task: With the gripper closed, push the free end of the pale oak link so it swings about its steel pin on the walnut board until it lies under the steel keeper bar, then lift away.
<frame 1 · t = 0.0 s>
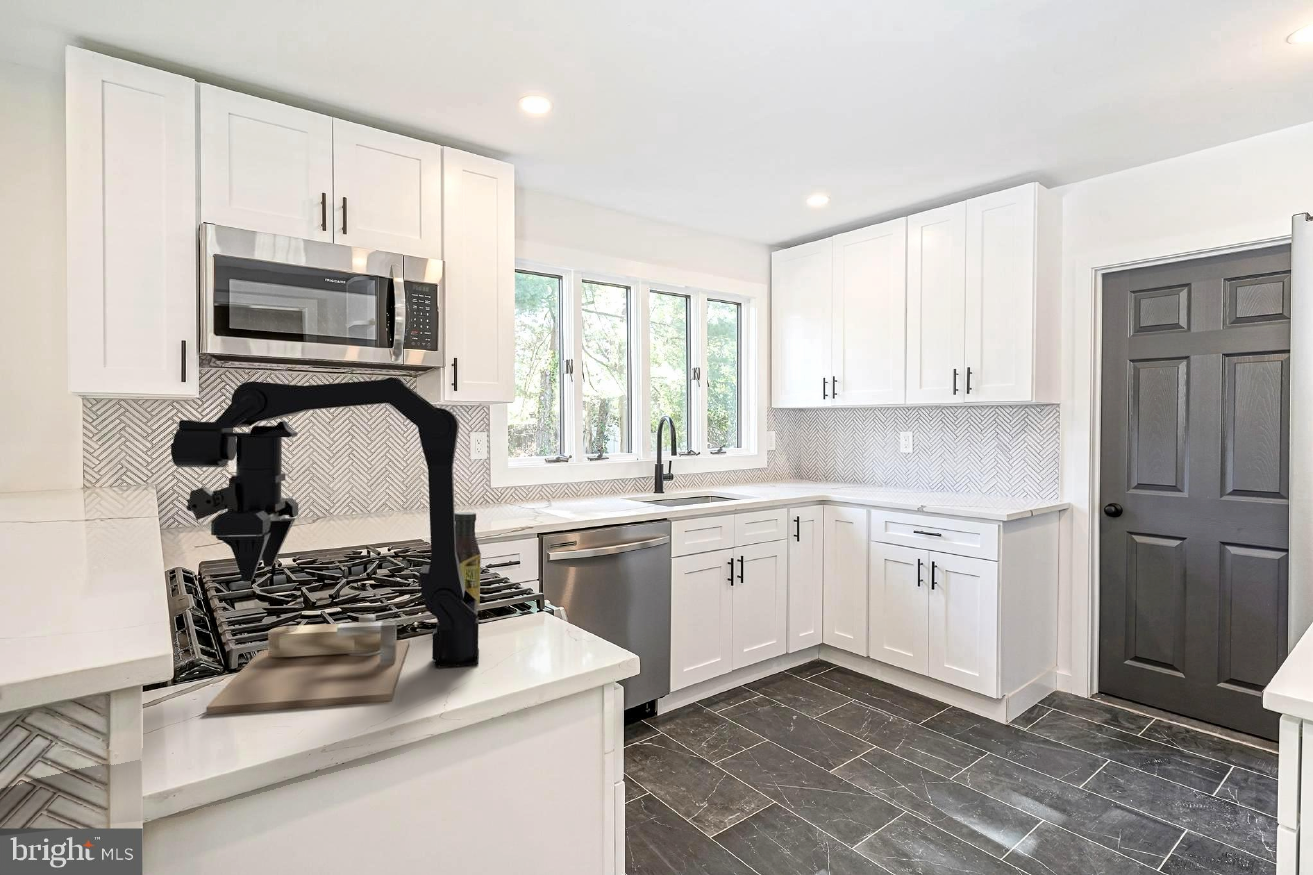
hand: (258, 573, 98), 15 cm above the countertop, tool pointing down, fingers open, 9 cm apart
oak link: (327, 639, 105), point 3 cm above the countertop, hinge at 0.0°
sauce bottle: (462, 616, 129), on the countertop
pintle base: (321, 675, 98), on the countertop
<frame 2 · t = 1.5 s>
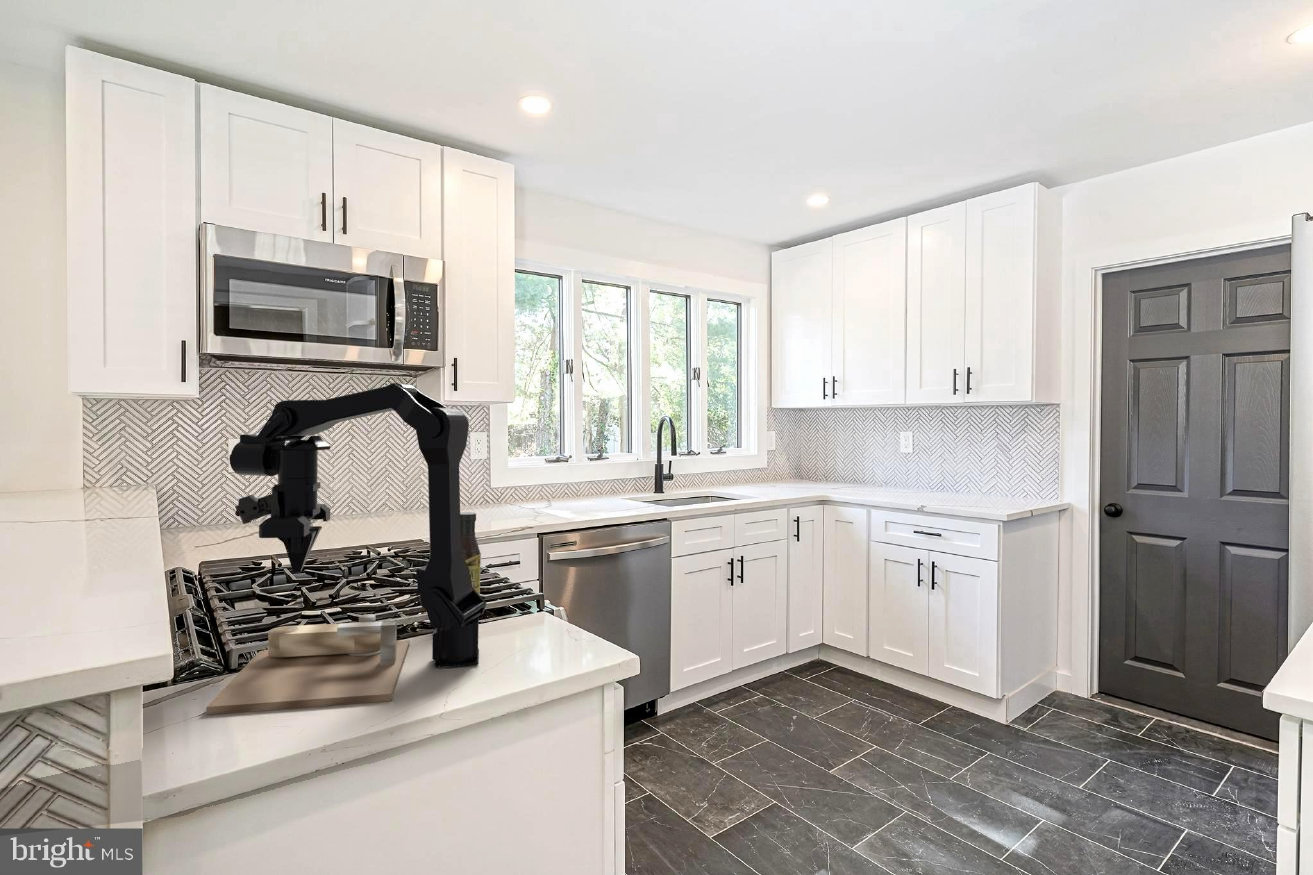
hand: (297, 572, 110), 12 cm above the countertop, tool pointing down, fingers closed
nothing on the countertop moved.
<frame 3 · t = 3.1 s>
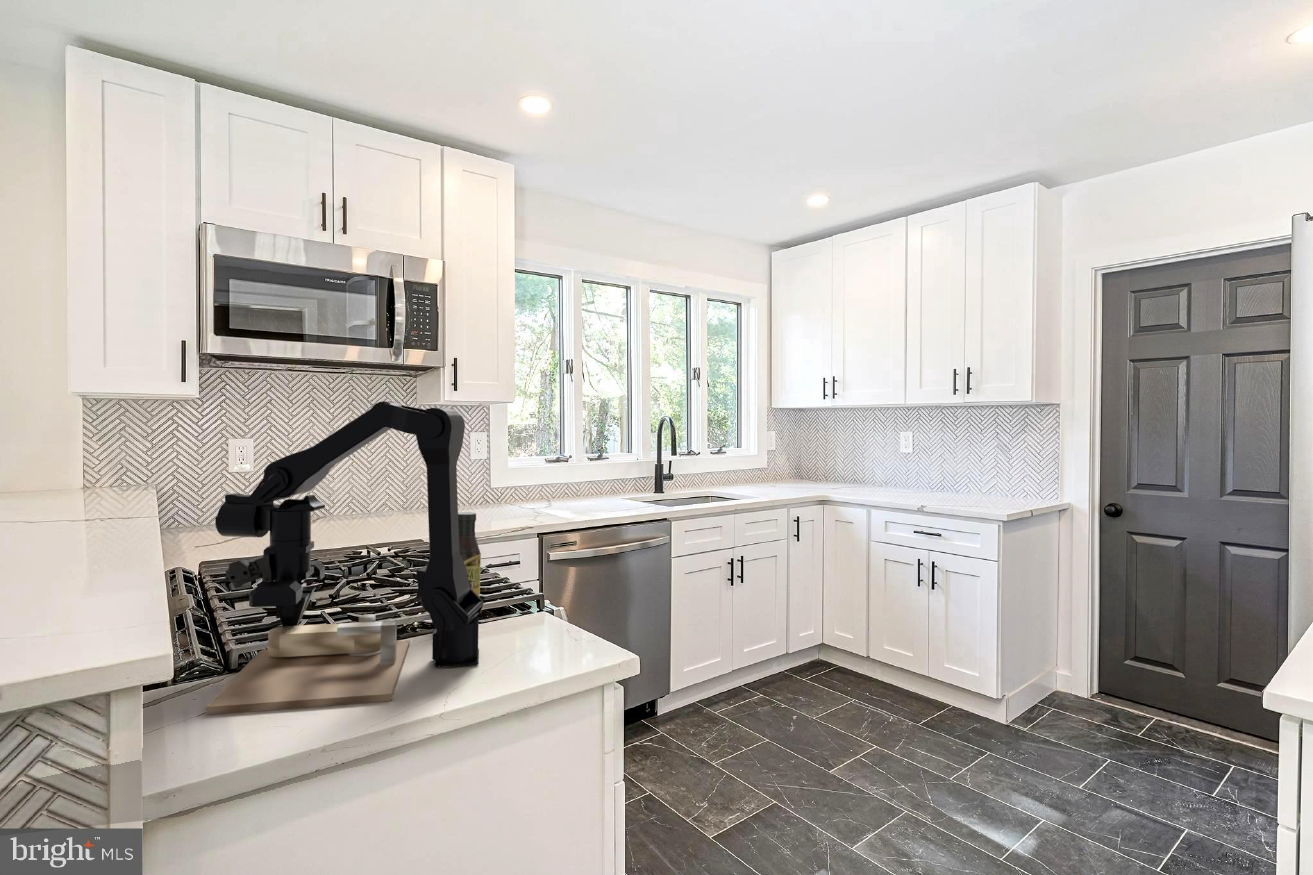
hand: (289, 635, 106), 3 cm above the countertop, tool pointing down, fingers closed
oak link: (327, 639, 105), point 3 cm above the countertop, hinge at 0.0°, touching gripper
everything else where it was.
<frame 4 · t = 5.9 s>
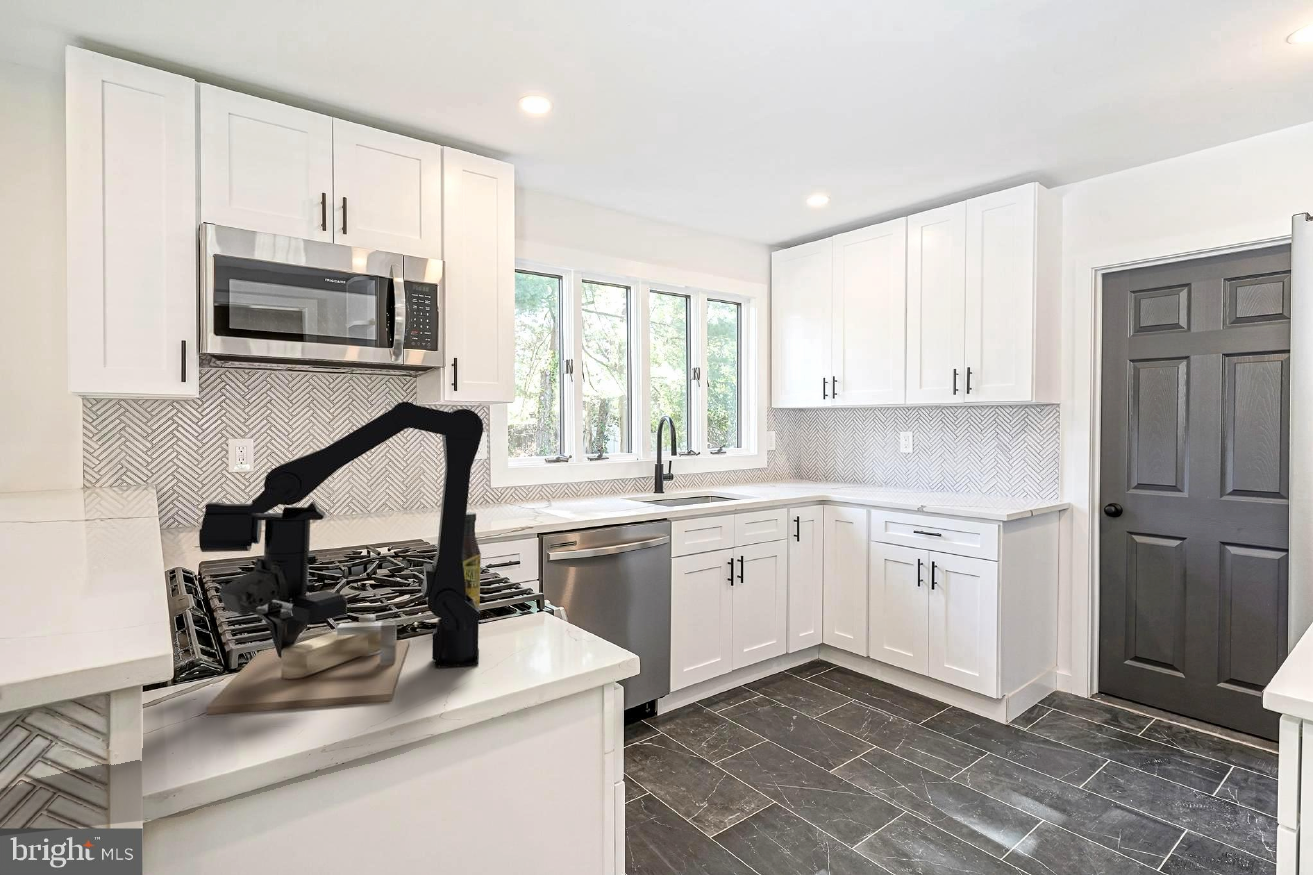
hand: (283, 657, 97), 3 cm above the countertop, tool pointing down, fingers closed
oak link: (335, 647, 101), point 3 cm above the countertop, hinge at 49.9°, touching gripper
everything else where it was.
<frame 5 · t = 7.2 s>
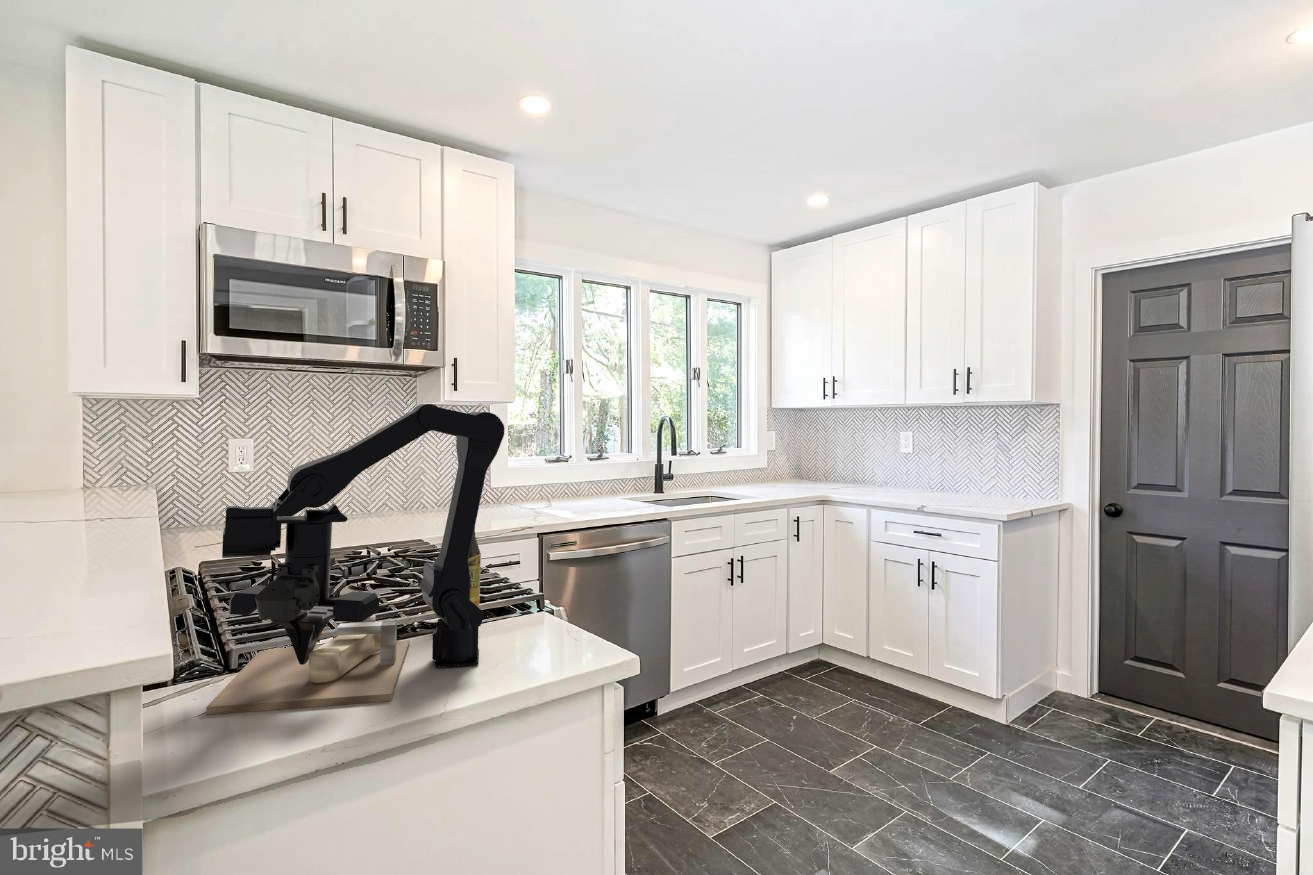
hand: (303, 663, 94), 3 cm above the countertop, tool pointing down, fingers closed
oak link: (348, 649, 100), point 3 cm above the countertop, hinge at 72.2°, touching gripper
everything else where it was.
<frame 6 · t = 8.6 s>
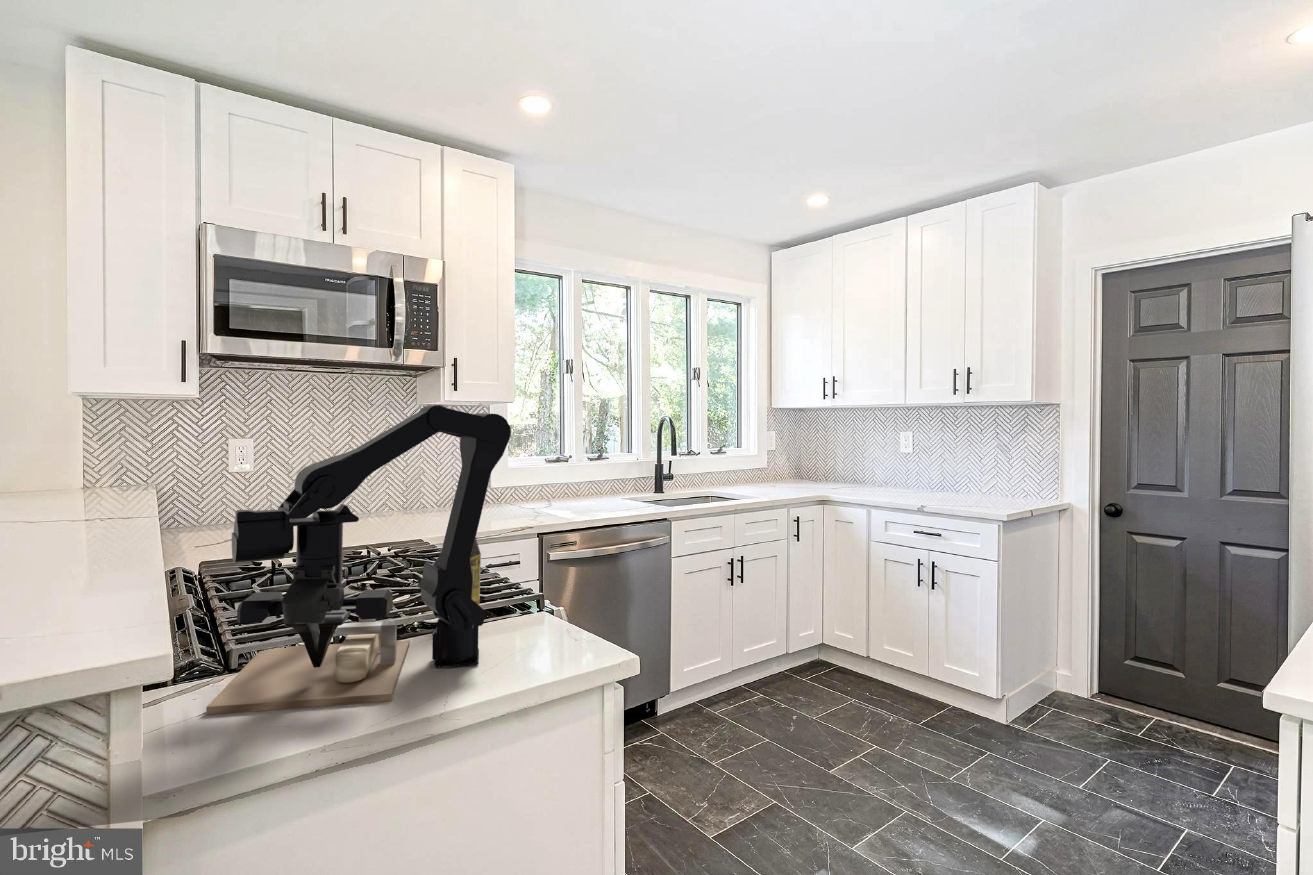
hand: (317, 666, 93), 3 cm above the countertop, tool pointing down, fingers closed
oak link: (359, 649, 101), point 3 cm above the countertop, hinge at 89.4°
everything else where it was.
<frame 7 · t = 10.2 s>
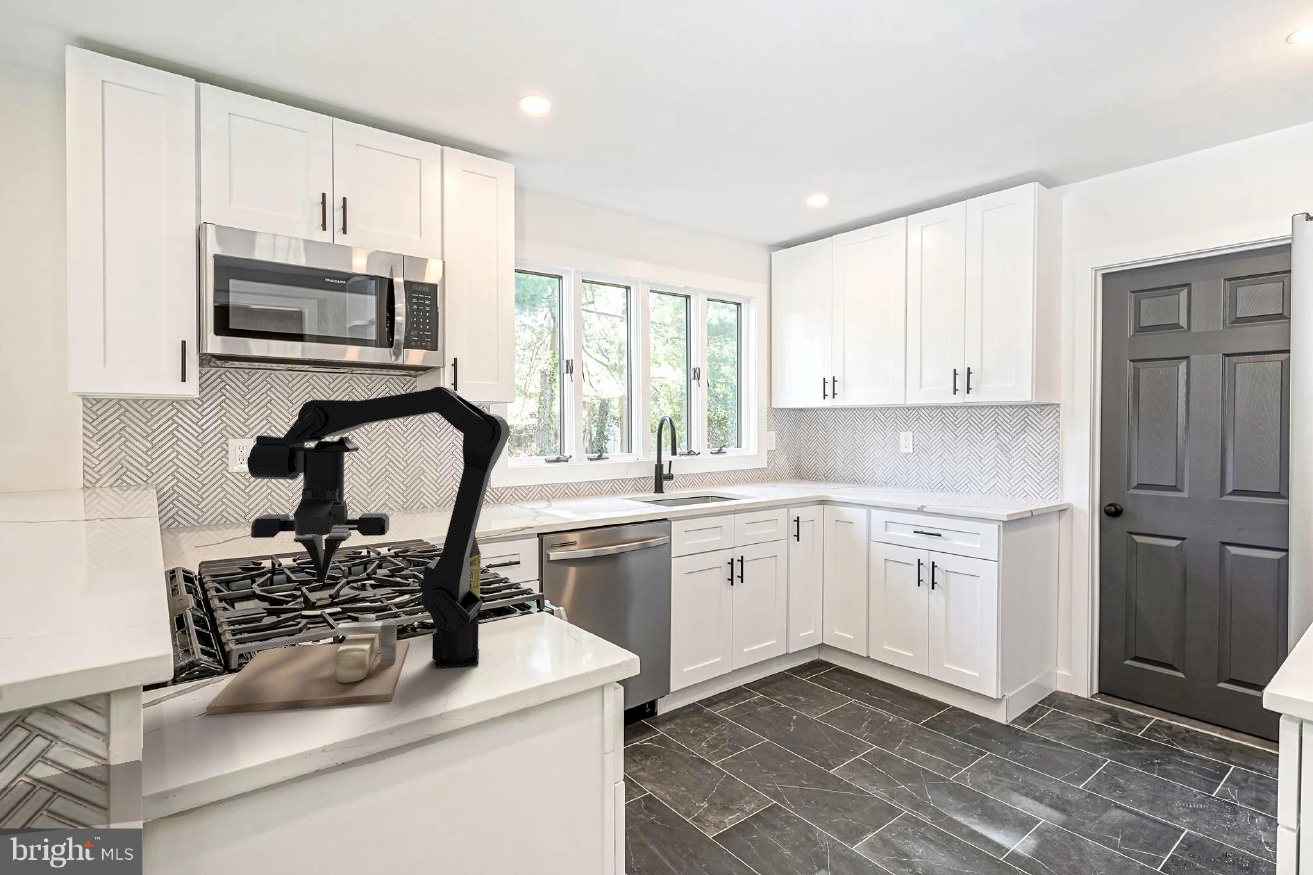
hand: (322, 579, 105), 12 cm above the countertop, tool pointing down, fingers closed
nothing on the countertop moved.
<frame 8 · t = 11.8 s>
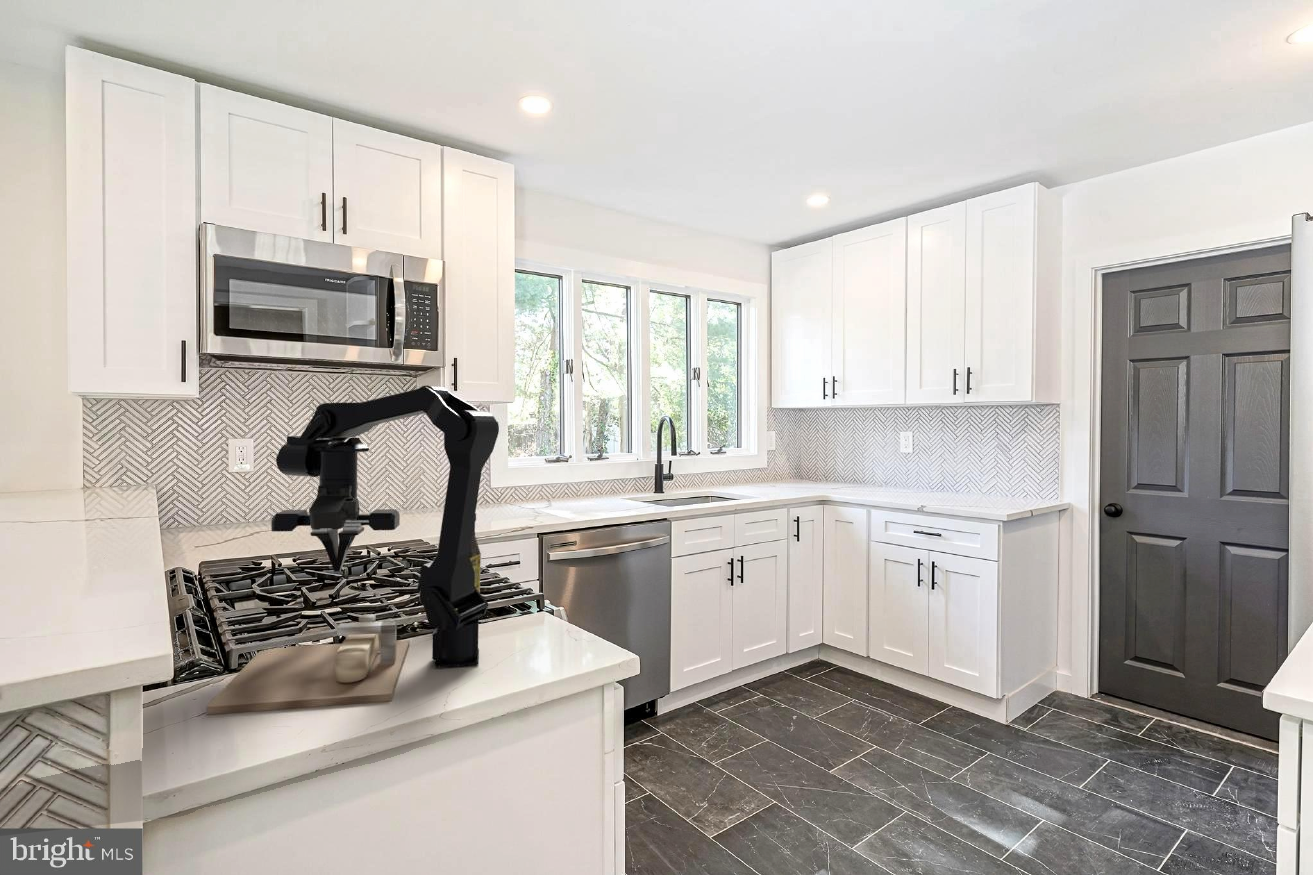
hand: (337, 571, 112), 12 cm above the countertop, tool pointing down, fingers closed
nothing on the countertop moved.
at the end: oak link at +89° (first picture: +0°); sauce bottle moved 0.2 cm from its start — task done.
